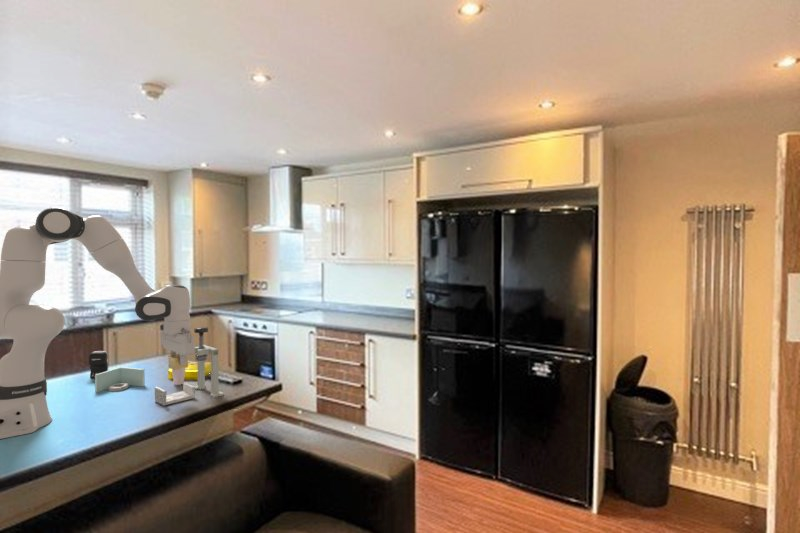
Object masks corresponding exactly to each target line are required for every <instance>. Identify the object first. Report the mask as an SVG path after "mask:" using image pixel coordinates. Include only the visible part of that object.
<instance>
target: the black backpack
mask: <svg viewBox="0 0 800 533" xmlns="http://www.w3.org/2000/svg"><path fill="white" fill-rule="evenodd" d="M109 358H110V357H109V352H108V351H106V350H105V351H104V350H97V351H92V352H91V353H89V354H88V366H90V367H89V368H90V374H89V377H90V379H95V375H96V374H99V373H102V372H106V371H109V363H110V362H109Z"/></svg>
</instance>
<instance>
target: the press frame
mask: <svg viewBox="0 0 800 533" xmlns="http://www.w3.org/2000/svg"><path fill="white" fill-rule="evenodd" d="M196 354H197V355H199V356H201V355H206V354H208V355H210V362H211V374H210V395H209V396H210V397H211V396H212V397H211V398H213V397H214V399H215V398H218V396H219V397H223V396H224V395H225V393H224V392H222V391H219V387H220V386H219V380H220V379H219V348H216V347H213V346H210V345H209V346H208V345H206V344H204V349H199V344H197V345H196V346H195V353H194V354H193V355H196ZM205 361H206V360H204V361H196V362H197V368H198V380H197V385H193V386H194V387H195V389H196V390H197V389H198V390H199V389H200V391H202V390H205V389H206V388H207V386H206V379H205V378H206V377H205ZM201 389H202V390H201ZM196 390H195V391H196Z"/></svg>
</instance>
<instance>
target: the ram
mask: <svg viewBox="0 0 800 533" xmlns="http://www.w3.org/2000/svg"><path fill="white" fill-rule="evenodd" d="M193 331H194V333H195V334H198V345H199V349H204V345H205V343H204V334H205V333H209V327H207V326H199V327H194V328H193ZM208 355H209V354H206V355H201V356H199V355H197V353H195V354H194V358H195V362H197V361H204V360H205V361H207V360H209V359H208V358H209V357H208Z"/></svg>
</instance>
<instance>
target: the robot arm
mask: <svg viewBox="0 0 800 533" xmlns="http://www.w3.org/2000/svg"><path fill="white" fill-rule="evenodd" d="M70 240H76V241H78V242H80V243H81V244H82V245H83V246H84V247H85V249H86V250H87V252H88V253H89V254H90V256H91V257H92V259H93V260H95V261H96V263H97V264H98V265H99V266H100V267H101V268H103V269H104V270H105V271H108V272H109V273H112V274H113V275H114V276H116V277H118V278H119V279H120V280H121V281H122V282H123V284H124V285H125V287H126V288H127V289H128V290H129V292H130V293H131V295H132V296H133V298H134V302H135V307H134V309H135V310H134V311H135V314H136V316H137V317H138V319H141V320H142V321H145V322H153V321H157V320H161V319H164V322H163V323H161V324H159V330H160V339H161V346H162V348H163V349H165V350H168V351H169V356H170V355H176V354H180V356H181V357H180V360H179V364H180V365H185V364H186V358H187V356H188V357H189V356H192V355H195V354H196V353H195V347H196V343H195V336H194V335H193V334H192V333H191V330H192V328H191V327H192V326H191V325H192V324H191V315H190V310H191V297H190V291H189V289H188V288H187V287H186V286H184V285H181V284H175V283H174V284H172V283H170V284H166V285H165V286H163V287H161V288H159V289H158V290H154V289H153V288H151V287H150V285H149V284H148V283H147V281H146V280H145V279H144V277H143V276H142V275H141V273H140V272H139V270H138V268H137V266H136V264H135V260H134V259H133V258H134V257H133V255H132V252H131V250H130V248H129V247H128V245H127V243H126V241H125V240H124V238H123V237H122V236H121V234H120V233H119V231H117V229H116V228H115V227H114V226H113V225H112V224H111V223H110V222H109V221H108V220H107V219H106V218H105V217H103V216H102V215H90V216H87V217H82V216H80V215H79V214H76V213H74V212H73V211H71V210H69V209H66V208H64V207H60V206H54V207H53V206H52V207H49V208H45V209H43V210H42V211H40V213H38V215H37V217H36V219H35V223H34V224H33V225H30V226H16V227H12V228H10V229H9V230H7V232H6V233H5V236H4V239H3V243H2V247H1V253H0V254H1V255H0V340H1V339H2V340H3V339H4V340H13V344H12V345H11V349H10V350H9V352H8V353H6V354H4V355H3V356H2V357H0V440H1V439H6V438H12V437H15V436H16V437H17V436H22V435H27V434H31V433H34V432H36V431H38V429H40V428H43V427H45V426H46V425H49V424H50V423H51V422H52V421H53V418H52V416H51V413H50V411H49V407H48V403H47V402H48V401H47V397H46V396H47V394H48V381H47V378H45V360H46V359H45V358H46V353H47V349H48V347H49V345H50V344H51V342H52V341H53V339H55V337H57V336H58V335H59V334H60V333H61V332H62V331H63V329H64V327H65V323H66V322H65V321H66V319H65V316H64V314H63V311H61V310H60V309H59V308H55V307H52V306H48V305H45V304H43V305H42V304H30V302H31V299H32V297H33V295H34V294H35V293H36V292H38V291H40V290H41V289H42V288H43V287H44V286H45V284H46V283H45V282H46V267H47V266H46V263H47V260H46V259H47V249H48V247H49V246H51V245H54V244H59V243H65V242H68V241H70ZM194 353H195V354H194Z"/></svg>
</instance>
